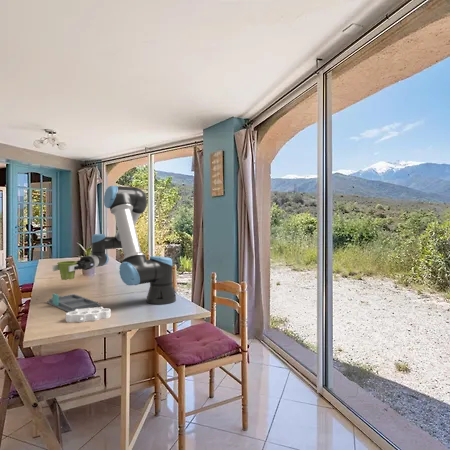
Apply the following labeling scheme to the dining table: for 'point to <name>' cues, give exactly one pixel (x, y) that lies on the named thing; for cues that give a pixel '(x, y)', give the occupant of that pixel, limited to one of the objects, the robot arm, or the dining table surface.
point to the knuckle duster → (88, 314)
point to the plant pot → (66, 269)
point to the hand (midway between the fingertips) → (61, 268)
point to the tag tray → (72, 302)
